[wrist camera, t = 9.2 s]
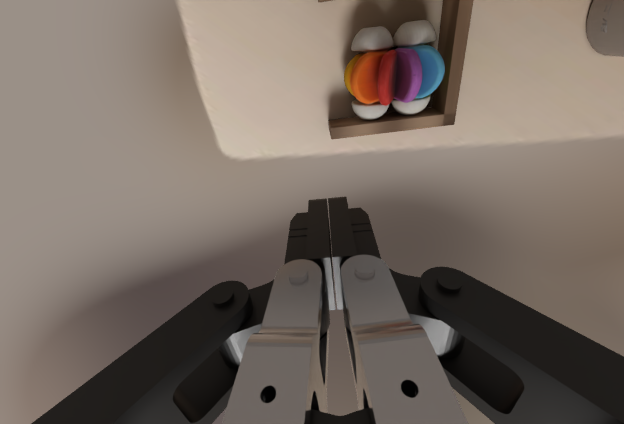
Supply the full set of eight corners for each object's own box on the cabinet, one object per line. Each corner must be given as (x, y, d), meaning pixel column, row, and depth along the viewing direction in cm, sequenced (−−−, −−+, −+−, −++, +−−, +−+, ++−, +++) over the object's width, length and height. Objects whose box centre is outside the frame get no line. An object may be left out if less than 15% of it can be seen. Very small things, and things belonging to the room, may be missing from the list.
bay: (460, -35, 25) (480, -45, 22) (440, 116, 32) (454, 124, 29) (317, -14, 26) (318, -21, 23) (329, 130, 33) (331, 139, 30)
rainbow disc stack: (340, 31, 28) (349, 28, 22) (436, 18, 27) (474, 12, 21) (344, 116, 32) (352, 134, 26) (427, 106, 32) (455, 122, 26)
